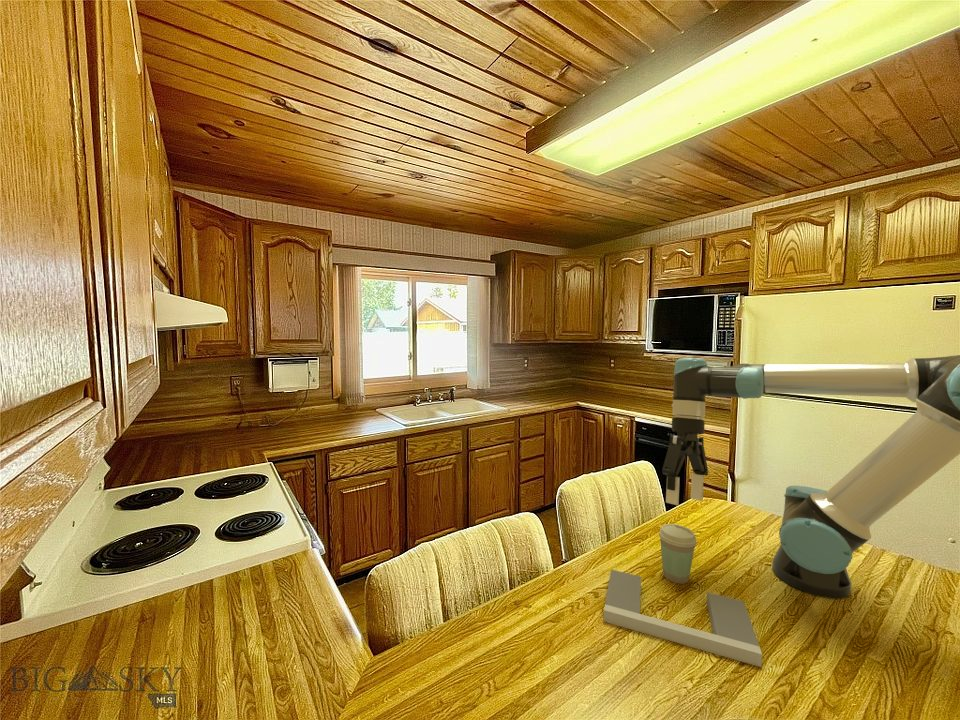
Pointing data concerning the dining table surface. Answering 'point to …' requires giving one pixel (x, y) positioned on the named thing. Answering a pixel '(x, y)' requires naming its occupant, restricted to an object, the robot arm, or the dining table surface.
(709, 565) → the dining table surface
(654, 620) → the u-shaped bracket
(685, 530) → the coffee cup
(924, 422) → the robot arm
